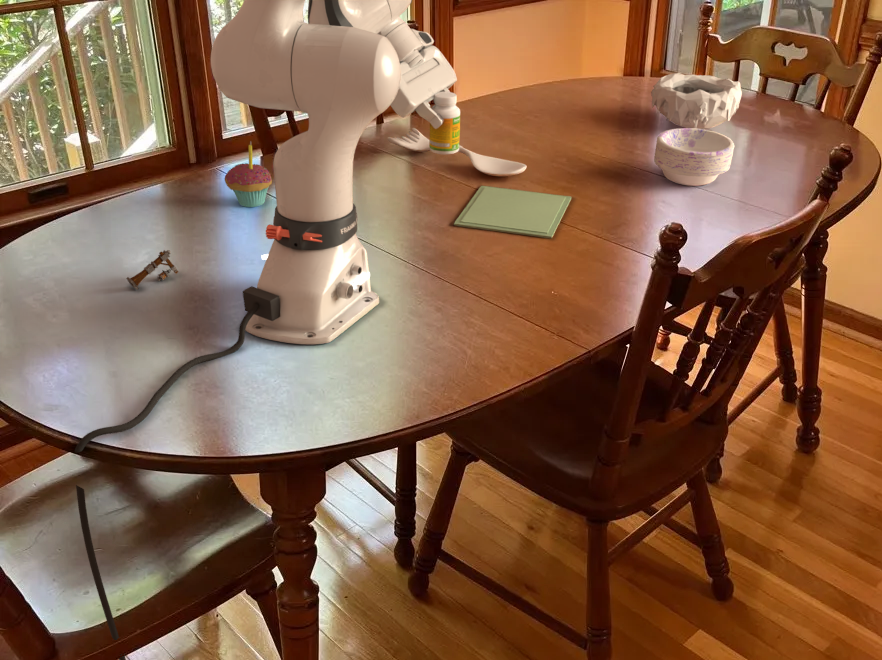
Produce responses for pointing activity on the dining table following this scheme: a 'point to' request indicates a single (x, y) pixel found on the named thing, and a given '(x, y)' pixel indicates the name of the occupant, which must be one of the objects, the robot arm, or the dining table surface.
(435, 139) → the supplement bottle
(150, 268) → the wooden post with brackets
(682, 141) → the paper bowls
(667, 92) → the bowl
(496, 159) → the white spork utensil
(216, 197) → the dining table surface
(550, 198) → the placemat
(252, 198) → the cupcake
